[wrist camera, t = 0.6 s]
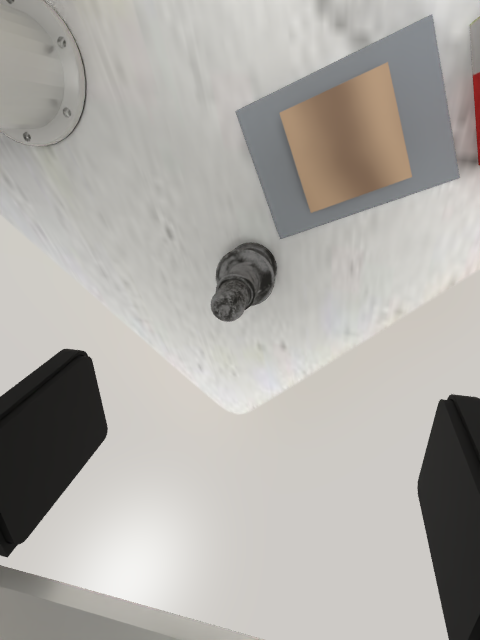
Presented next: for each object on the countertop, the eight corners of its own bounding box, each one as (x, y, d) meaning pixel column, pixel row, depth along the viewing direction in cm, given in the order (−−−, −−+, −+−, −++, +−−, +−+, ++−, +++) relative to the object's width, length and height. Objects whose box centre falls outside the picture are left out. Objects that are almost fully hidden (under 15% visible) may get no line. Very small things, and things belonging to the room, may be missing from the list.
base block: (313, 205, 35) (310, 213, 31) (285, 115, 32) (279, 112, 29) (404, 172, 32) (412, 176, 28) (381, 70, 29) (387, 61, 26)
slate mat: (281, 237, 37) (280, 239, 37) (236, 111, 33) (235, 111, 33) (457, 177, 32) (459, 177, 31) (430, 16, 28) (432, 14, 27)
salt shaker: (214, 256, 40) (171, 299, 30) (261, 229, 38) (232, 266, 27) (243, 301, 42) (212, 357, 31) (289, 278, 39) (272, 330, 29)
